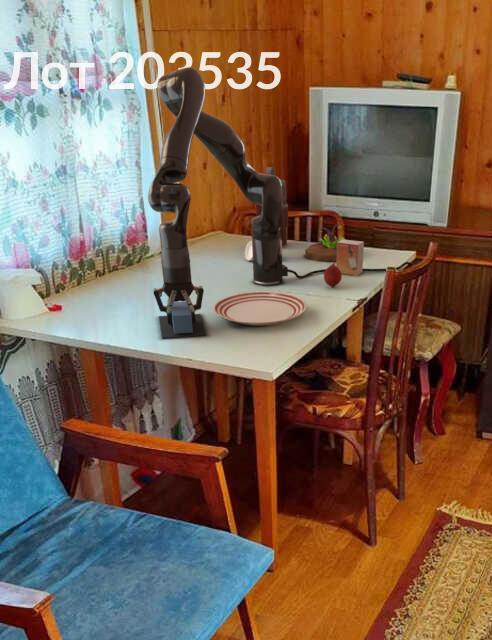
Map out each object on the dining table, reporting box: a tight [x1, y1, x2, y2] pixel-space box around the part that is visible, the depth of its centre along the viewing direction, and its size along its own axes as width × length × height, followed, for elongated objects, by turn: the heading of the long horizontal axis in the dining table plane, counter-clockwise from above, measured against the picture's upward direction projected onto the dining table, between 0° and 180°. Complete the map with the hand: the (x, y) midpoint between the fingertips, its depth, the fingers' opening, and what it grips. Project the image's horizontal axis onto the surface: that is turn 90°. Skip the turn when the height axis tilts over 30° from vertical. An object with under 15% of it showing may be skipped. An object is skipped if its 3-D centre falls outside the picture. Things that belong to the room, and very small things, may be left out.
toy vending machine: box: [255, 166, 289, 248], centre depth 281 cm, size 9×11×28 cm
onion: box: [323, 262, 343, 288], centre depth 241 cm, size 6×6×8 cm
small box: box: [335, 238, 365, 277], centre depth 256 cm, size 8×6×10 cm
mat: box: [158, 313, 207, 340], centre depth 209 cm, size 12×18×1 cm, turn 14°
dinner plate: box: [212, 290, 308, 327], centre depth 217 cm, size 27×27×3 cm
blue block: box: [171, 301, 193, 334], centre depth 206 cm, size 5×5×12 cm
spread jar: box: [244, 236, 283, 262], centre depth 267 cm, size 12×11×12 cm
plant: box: [304, 224, 345, 263], centre depth 275 cm, size 20×20×11 cm
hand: (181, 324), depth 208 cm, fingers closed on blue block, 5 cm apart
